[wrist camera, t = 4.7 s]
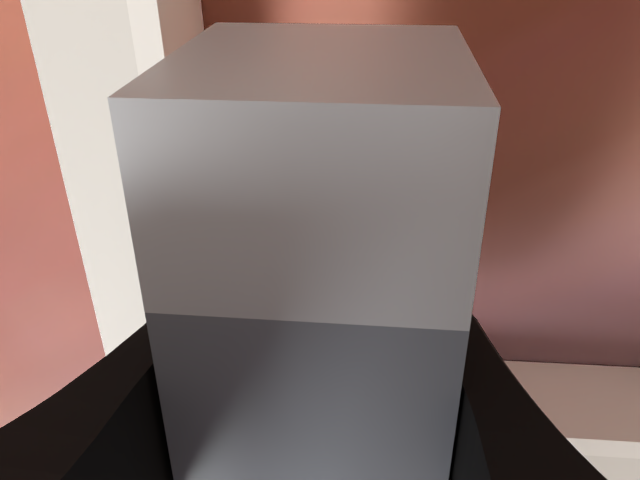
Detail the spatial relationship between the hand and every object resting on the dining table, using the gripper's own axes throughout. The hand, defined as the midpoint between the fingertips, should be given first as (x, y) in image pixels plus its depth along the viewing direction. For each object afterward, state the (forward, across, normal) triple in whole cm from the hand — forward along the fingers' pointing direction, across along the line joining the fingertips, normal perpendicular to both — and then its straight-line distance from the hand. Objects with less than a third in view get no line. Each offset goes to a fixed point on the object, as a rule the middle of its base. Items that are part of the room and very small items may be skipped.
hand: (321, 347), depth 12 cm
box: (+2, 0, 0) cm, 2 cm away
